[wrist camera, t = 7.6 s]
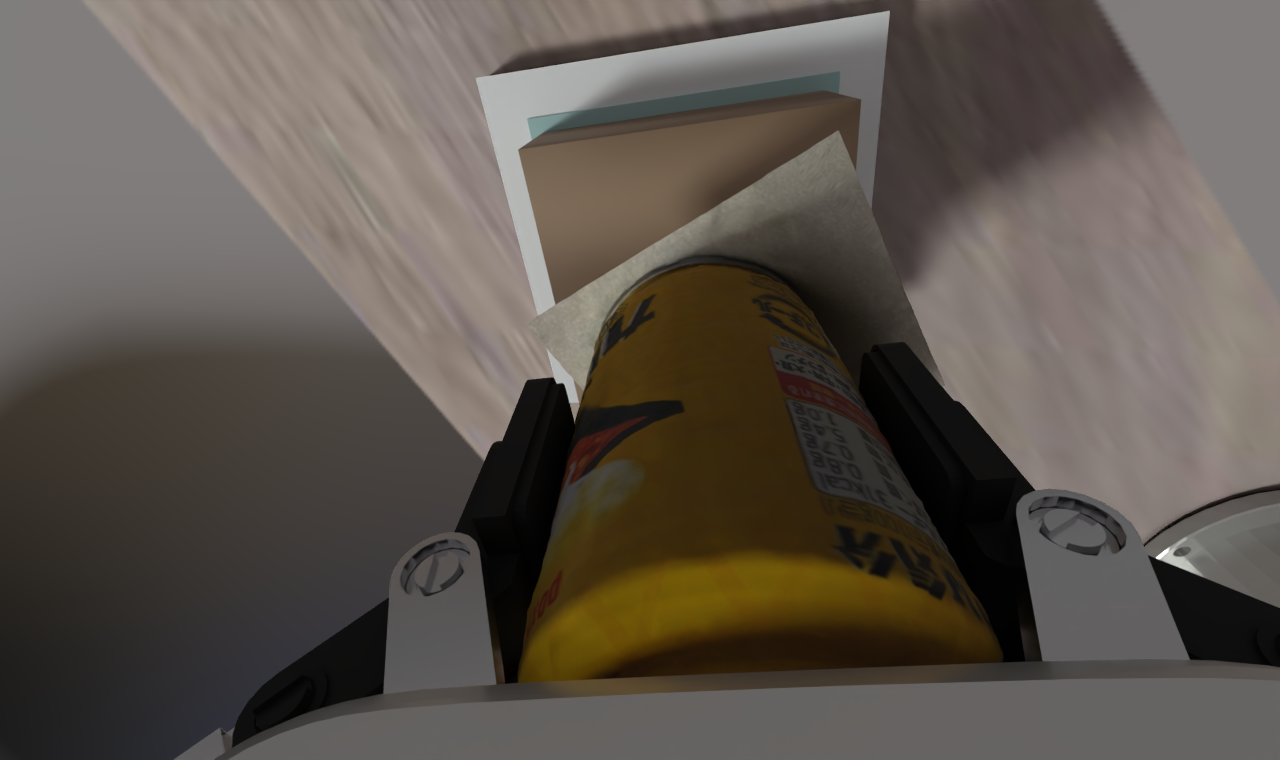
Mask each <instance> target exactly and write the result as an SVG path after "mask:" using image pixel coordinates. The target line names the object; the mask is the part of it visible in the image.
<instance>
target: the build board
mask: <svg viewBox="0 0 1280 760" xmlns="http://www.w3.org/2000/svg"><path fill="white" fill-rule="evenodd" d="M889 16H890V11H885V12H879V13H873V14H867V15H861V16H854V17H848V18H842V19H836V20H830V21H824V22H818V23H811V24H805V25H799V26H793V27H787V28H781V29H775V30H768V31H762V32H756V33H750V34H744V35H738V36H732V37H725V38H719V39H713V40H707V41H701V42H695V43H689V44H682V45H676V46H670V47H664V48H658V49H652V50H646V51H639V52H633V53H627V54H621V55H615V56H609V57H603V58H596V59H590V60H584V61H578V62H572V63H566V64H559V65H553V66H547V67H541V68H535V69H529V70H523V71H516V72H510V73H504V74H498V75H492V76H486V77H480V78H476V81H477V85H478V89H479V92H480V96H481V100H482V104H483V108H484V111H485V115H486V119H487V123H488V127H489V130H490V134H491V138H492V142H493V146H494V149H495V153H496V157H497V161H498V165H499V168H500V172H501V176H502V180H503V184H504V188H505V191H506V195H507V199H508V203H509V207H510V210H511V214H512V218H513V222H514V226H515V229H516V233H517V237H518V241H519V245H520V248H521V252H522V256H523V260H524V264H525V267H526V271H527V275H528V279H529V283H530V286H531V290H532V294H533V298H534V302H535V305H536V309H537V313H538V316H539V315H540V314H542V313H543V312H545V311H547V310H548V309H549V308H551V307H553V306H554V305H555V301H554V297H553V293H552V289H551V284H550V280H549V276H548V272H547V268H546V264H545V260H544V255H543V251H542V247H541V243H540V239H539V235H538V231H537V226H536V222H535V218H534V214H533V210H532V206H531V201H530V197H529V193H528V189H527V185H526V181H525V177H524V172H523V168H522V164H521V160H520V156H519V152H518V149H520V148H521V147H523V146H524V145H526V144H527V143H529V142H530V141H532V140H533V139H534V138H536V137H537V136H539V135H540V134H542V133H543V132H548V131H555V130H562V129H568V128H575V127H582V126H589V125H595V124H602V123H609V122H615V121H622V120H629V119H635V118H642V117H649V116H656V115H662V114H669V113H676V112H682V111H689V110H696V109H702V108H709V107H716V106H722V105H729V104H736V103H743V102H749V101H756V100H763V99H769V98H776V97H783V96H789V95H796V94H803V93H809V92H816V91H823V90H825V91H829V92H833V93H837V94H842V95H846V96H850V97H854V98H858V99H861V110H860V124H859V137H858V150H857V163H856V173H857V176H858V180H859V182H860V185H861V187H862V189H863V192H864V194H865V196H866V199H867V201H868V203H869V205H870V208H871V209H872V198H873V187H874V176H875V166H876V155H877V144H878V134H879V123H880V112H881V101H882V91H883V80H884V69H885V58H886V48H887V37H888V26H889ZM547 351H548V355H549V359H550V363H551V366H552V370H553V374H554V378H555V381H556V383H563V384H564V385H565V388H566V391H567V395H568V399H569V403H576V402H579V401H578V397H577V392H576V388H575V384H574V380H573V378H572V377H571V376H570V375H569V374H568V373H567V372H566V371H565V370H564V368H563V367H562V366H561V364H560V363H559V362H558V360H556V359H555V358H554V357H553V356H552V354H551V353H550V352H549V350H548V349H547Z"/></svg>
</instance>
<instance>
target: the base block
mask: <svg viewBox="0 0 1280 760" xmlns="http://www.w3.org/2000/svg"><path fill="white" fill-rule="evenodd" d="M860 110H861V99H858V98H854V97H850V96H846V95H842V94H837V93H833V92H829V91H825V90H823V91H816V92H809V93H803V94H796V95H789V96H783V97H776V98H769V99H763V100H756V101H749V102H743V103H736V104H729V105H722V106H716V107H709V108H702V109H696V110H689V111H682V112H676V113H669V114H662V115H656V116H649V117H642V118H635V119H629V120H622V121H615V122H609V123H602V124H595V125H589V126H582V127H575V128H568V129H562V130H555V131H548V132H543V133H542V134H540V135H539V136H537V137H536V138H534V139H533V140H532V141H530V142H529V143H527V144H526V145H524V146H523V147H521V148H520V149H518V152H519V156H520V160H521V164H522V168H523V172H524V177H525V181H526V185H527V189H528V193H529V197H530V201H531V206H532V210H533V214H534V218H535V222H536V226H537V231H538V235H539V239H540V243H541V247H542V251H543V255H544V260H545V264H546V268H547V272H548V276H549V280H550V284H551V289H552V293H553V297H554V301H555V305H556V304H557V303H559V302H561V301H562V300H564V299H566V298H568V297H569V296H571V295H573V294H574V293H576V292H577V291H578V290H580V289H582V288H583V287H585V286H586V285H588V284H590V283H591V282H593V281H595V280H596V279H598V278H600V277H601V276H603V275H604V274H606V273H607V272H609V271H611V270H612V269H614V268H616V267H617V266H619V265H621V264H622V263H624V262H625V261H627V260H629V259H630V258H632V257H633V256H635V255H637V254H638V253H640V252H641V251H643V250H645V249H646V248H648V247H649V246H651V245H653V244H654V243H656V242H658V241H659V240H661V239H663V238H664V237H666V236H668V235H669V234H671V233H673V232H675V231H676V230H678V229H680V228H681V227H683V226H685V225H687V224H688V223H690V222H691V221H693V220H694V219H696V218H698V217H699V216H701V215H703V214H705V213H707V212H708V211H710V210H711V209H713V208H715V207H716V206H718V205H719V204H720V203H722V202H724V201H725V200H727V199H729V198H731V197H732V196H734V195H736V194H737V193H739V192H740V191H742V190H743V189H745V188H747V187H749V186H751V185H752V184H754V183H755V182H757V181H758V180H760V179H761V178H763V177H764V176H766V175H767V174H769V173H770V172H772V171H773V170H775V169H776V168H778V167H780V166H781V165H783V164H785V163H787V162H788V161H790V160H792V159H794V158H795V157H797V156H799V155H800V154H802V153H803V152H805V151H807V150H808V149H810V148H811V147H813V146H814V145H815V144H817V143H819V142H820V141H822V140H824V139H825V138H827V137H828V136H830V135H832V134H833V133H835V132H836V131H839V132H840V135H841V137H842V139H843V142H844V144H845V147H846V149H847V151H848V154H849V156H850V159H851V161H852V164H853V166H854V168H855V171H856V163H857V150H858V137H859V124H860ZM573 380H574V379H573ZM574 384H575V388H576V392H577V397H578V401H579V405H580V403H581V398H582V395H583V392H584V391H583V390H582V389H581V387H580V386H579V385H578V384H577V383H576V382H575V380H574Z"/></svg>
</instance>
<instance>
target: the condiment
mask: <svg viewBox="0 0 1280 760" xmlns="http://www.w3.org/2000/svg"><path fill="white" fill-rule="evenodd" d="M526 325H527V326H528V327H529V328H530V329H531V330H532V331H533V332H534V334H535V335H536V336H537V337H538V339H539V340H540V341H541V342H542V343H543V344H544V346H545V347H546V348H547V349H548V350H549V352H550V353H551V354H552V356H553V357H554V358H555V359H556V360H558V362H559V363H560V364H561V366H562V367H563V368H564V370H565V371H566V372H567V373H568V374H569V375H570V376H571V377H572V378H573V379H574V380H575V382H576V383H577V384H578V385H579V386H580V387H581V389H582V390H583V391H584V392H583V395H582V398H581V403H580V407H579V410H578V413H577V417H576V420H575V432H574V434H573V439H572V442H571V444H570V446H569V449H568V452H567V457H566V461H565V469H564V478H563V480H562V483H561V488H560V494H559V498H558V502H557V507H556V510H555V515H554V519H553V522H552V526H551V534H550V537H549V540H548V543H547V550H546V553H545V556H544V560H543V565H542V570H541V573H540V576H539V580H538V582H537V585H536V588H535V590H534V593H533V596H532V601H531V604H530V606H529V609H528V611H527V622H526V629H525V635H524V643H523V652H522V656H521V659H520V662H519V668H518V683H529V682H550V681H571V680H592V679H614V678H635V677H656V676H678V675H701V674H724V673H748V672H771V671H796V670H820V669H844V668H869V667H896V666H924V665H951V664H978V663H1004V655H1003V652H1002V650H1001V647H1000V645H999V642H998V639H997V637H996V635H995V633H994V631H993V628H992V626H991V624H990V622H989V618H988V615H987V613H986V611H985V610H984V608H983V606H982V604H981V603H980V601H979V600H978V598H977V597H976V596H975V595H974V593H973V592H972V591H971V590H970V588H969V586H968V584H967V582H966V580H965V578H964V577H963V575H962V574H961V572H960V570H959V569H958V567H957V565H956V563H955V560H954V559H953V557H952V556H951V555H950V553H949V551H948V548H947V546H946V545H945V543H944V542H943V541H942V539H941V538H940V535H939V533H938V532H937V529H936V527H935V526H934V525H933V524H932V522H931V519H930V517H929V516H928V514H927V512H926V511H925V509H924V506H923V503H922V501H921V500H920V499H919V498H918V497H917V496H916V494H915V493H914V491H913V489H912V488H911V486H910V483H909V481H908V480H907V478H906V476H905V475H904V473H903V471H902V469H901V467H900V466H899V464H898V462H897V461H896V459H895V457H894V454H893V452H892V450H891V447H890V445H889V442H888V441H887V439H886V438H885V437H884V436H883V434H882V433H881V432H880V430H879V428H878V424H877V422H876V420H875V419H874V417H873V416H872V414H871V412H870V411H869V409H868V408H867V407H866V404H865V400H864V398H863V397H862V395H861V394H860V392H859V381H860V371H861V361H862V356H863V354H864V353H866V352H871V349H872V346H874V345H876V344H886V343H896V342H905V343H906V344H907V345H908V346H909V347H910V349H911V350H912V351H913V352H914V354H915V355H916V356H917V357H918V358H919V360H920V361H921V362H922V363H923V364H924V366H925V367H926V368H927V369H928V370H929V372H930V373H931V374H932V375H933V376H934V378H935V379H936V380H937V381H938V382H939V384H940V385H941V386H944V385H945V384H944V381H943V379H942V377H941V374H940V372H939V369H938V367H937V365H936V363H935V361H934V359H933V357H932V355H931V353H930V350H929V347H928V345H927V343H926V340H925V338H924V336H923V333H922V331H921V329H920V326H919V324H918V321H917V319H916V317H915V315H914V312H913V309H912V307H911V305H910V303H909V301H908V298H907V296H906V294H905V292H904V289H903V286H902V284H901V281H900V279H899V276H898V274H897V271H896V269H895V266H894V264H893V262H892V259H891V257H890V255H889V253H888V252H887V250H886V247H885V243H884V240H883V238H882V235H881V232H880V230H879V227H878V225H877V223H876V220H875V217H874V215H873V212H872V210H871V208H870V205H869V203H868V201H867V199H866V196H865V194H864V192H863V189H862V187H861V185H860V182H859V180H858V176H857V173H856V171H855V168H854V166H853V164H852V161H851V159H850V156H849V154H848V151H847V149H846V147H845V144H844V142H843V139H842V137H841V135H840V132H839V131H836V132H835V133H833V134H832V135H830V136H828V137H827V138H825V139H824V140H822V141H820V142H819V143H817V144H815V145H814V146H813V147H811V148H810V149H808V150H807V151H805V152H803V153H802V154H800V155H799V156H797V157H795V158H794V159H792V160H790V161H788V162H787V163H785V164H783V165H781V166H780V167H778V168H776V169H775V170H773V171H772V172H770V173H769V174H767V175H766V176H764V177H763V178H761V179H760V180H758V181H757V182H755V183H754V184H752V185H751V186H749V187H747V188H745V189H743V190H742V191H740V192H739V193H737V194H736V195H734V196H732V197H731V198H729V199H727V200H725V201H724V202H722V203H720V204H719V205H718V206H716V207H715V208H713V209H711V210H710V211H708V212H707V213H705V214H703V215H701V216H699V217H698V218H696V219H694V220H693V221H691V222H690V223H688V224H687V225H685V226H683V227H681V228H680V229H678V230H676V231H675V232H673V233H671V234H669V235H668V236H666V237H664V238H663V239H661V240H659V241H658V242H656V243H654V244H653V245H651V246H649V247H648V248H646V249H645V250H643V251H641V252H640V253H638V254H637V255H635V256H633V257H632V258H630V259H629V260H627V261H625V262H624V263H622V264H621V265H619V266H617V267H616V268H614V269H612V270H611V271H609V272H607V273H606V274H604V275H603V276H601V277H600V278H598V279H596V280H595V281H593V282H591V283H590V284H588V285H586V286H585V287H583V288H582V289H580V290H578V291H577V292H576V293H574V294H573V295H571V296H569V297H568V298H566V299H564V300H562V301H561V302H559V303H557V304H556V305H554V306H553V307H551V308H549V309H548V310H547V311H545V312H543V313H542V314H540V315H539V316H537V317H536V318H534V319H533V320H532V321H531V322H529V323H528V324H526Z"/></svg>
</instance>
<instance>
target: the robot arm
mask: <svg viewBox="0 0 1280 760" xmlns="http://www.w3.org/2000/svg"><path fill="white" fill-rule="evenodd" d="M859 392H860V394H861V395H862V397H863V398H864V400H865V404H866V407H867V408H868V409H869V411H870V412H871V414H872V416H873V417H874V419H875V420H876V422H877V424H878V428H879V430H880V432H881V433H882V434H883V436H884V437H885V438H886V439H887V441H888V442H889V445H890V447H891V450H892V452H893V454H894V457H895V459H896V461H897V462H898V464H899V466H900V467H901V469H902V471H903V473H904V475H905V476H906V478H907V480H908V481H909V483H910V486H911V488H912V489H913V491H914V493H915V494H916V496H917V497H918V498H919V499H920V500H921V501H922V503H923V506H924V509H925V511H926V512H927V514H928V516H929V517H930V519H931V522H932V524H933V525H934V526H935V527H936V529H937V532H938V533H939V535H940V538H941V539H942V541H943V542H944V543H945V545H946V546H947V548H948V551H949V553H950V555H951V556H952V557H953V559H954V560H955V563H956V565H957V567H958V569H959V570H960V572H961V574H962V575H963V577H964V578H965V580H966V582H967V584H968V586H969V588H970V590H971V591H972V592H973V593H974V595H975V596H976V597H977V598H978V600H979V601H980V603H981V604H982V606H983V608H984V610H985V611H986V613H987V615H988V618H989V622H990V624H991V626H992V628H993V631H994V633H995V635H996V637H997V639H998V642H999V645H1000V647H1001V650H1002V652H1003V655H1004V663H978V664H951V665H924V666H896V667H869V668H844V669H820V670H796V671H771V672H748V673H724V674H701V675H678V676H656V677H635V678H614V679H592V680H571V681H550V682H529V683H518V668H519V662H520V659H521V656H522V652H523V643H524V635H525V629H526V622H527V611H528V609H529V606H530V604H531V601H532V596H533V593H534V590H535V588H536V585H537V582H538V580H539V576H540V573H541V570H542V565H543V560H544V556H545V553H546V550H547V543H548V540H549V537H550V534H551V526H552V522H553V519H554V515H555V510H556V507H557V502H558V498H559V494H560V488H561V483H562V480H563V478H564V469H565V461H566V457H567V452H568V449H569V446H570V444H571V442H572V439H573V434H574V432H575V423H574V419H573V415H572V411H571V407H570V403H569V399H568V395H567V391H566V388H565V385H564V384H563V383H556V381H555V379H554V378H553V377H551V378H542V379H532V380H527V381H526V383H525V386H524V388H523V391H522V393H521V396H520V398H519V401H518V403H517V406H516V408H515V411H514V413H513V416H512V418H511V420H510V423H509V425H508V428H507V430H506V433H505V435H504V438H503V440H502V441H497V442H495V443H493V444H492V446H491V448H490V450H489V452H488V454H487V457H486V459H485V461H484V464H483V466H482V468H481V471H480V473H479V476H478V478H477V480H476V483H475V485H474V487H473V490H472V492H471V494H470V497H469V499H468V502H467V504H466V506H465V509H464V511H463V513H462V516H461V518H460V520H459V523H458V525H457V527H456V530H455V532H454V533H444V534H440V535H436V536H433V537H431V538H429V539H427V540H424V541H422V542H421V543H419V544H418V545H416V546H415V547H413V548H412V549H411V550H409V551H408V552H407V554H406V555H405V556H404V557H403V558H402V559H401V560H400V561H399V563H398V564H397V566H396V568H395V569H394V571H393V573H392V578H391V581H390V593H389V598H387V599H386V600H385V601H383V602H382V603H380V604H379V605H377V606H376V607H375V608H373V609H372V610H370V611H368V612H367V613H366V614H364V615H363V616H361V617H360V618H358V619H357V620H355V621H354V622H352V623H351V624H349V625H348V626H347V627H345V628H344V629H342V630H341V631H339V632H338V633H336V634H335V635H333V636H332V637H330V638H329V639H328V640H326V641H325V642H323V643H322V644H320V645H319V646H317V647H316V648H315V649H313V650H312V651H310V652H308V653H307V654H306V655H304V656H303V657H301V658H300V659H298V660H297V661H295V662H294V663H292V664H291V665H289V666H288V667H287V668H285V669H284V670H282V671H281V672H279V673H278V674H276V675H275V676H274V677H273V678H272V679H270V680H269V681H268V682H267V683H265V684H264V685H263V686H262V687H261V688H260V689H259V690H258V691H257V692H256V693H255V695H254V696H253V697H252V698H251V699H250V700H249V701H248V703H247V704H246V706H245V708H244V709H243V711H242V712H241V714H240V716H239V717H238V720H237V723H236V725H235V727H234V728H233V729H232V730H230V731H229V732H227V733H226V732H225V731H223V730H222V729H221V728H219V729H217V730H216V731H215V732H213V733H212V734H210V735H209V736H207V737H206V738H205V739H203V740H202V741H200V742H199V743H197V744H196V745H194V746H193V747H191V748H190V749H189V750H187V751H186V752H184V753H183V754H181V755H180V756H178V757H177V758H176V759H174V760H1280V490H1276V491H1270V492H1263V493H1257V494H1253V495H1249V496H1245V497H1241V498H1237V499H1233V500H1230V501H1227V502H1224V503H1221V504H1218V505H1216V506H1213V507H1210V508H1207V509H1205V510H1203V511H1201V512H1199V513H1196V514H1194V515H1192V516H1190V517H1188V518H1186V519H1184V520H1182V521H1180V522H1178V523H1177V524H1175V525H1173V526H1172V527H1170V528H1168V529H1167V530H1165V531H1163V532H1162V533H1161V534H1159V535H1158V536H1157V537H1156V538H1154V539H1153V540H1152V541H1150V542H1149V543H1148V544H1146V545H1145V546H1144V545H1143V543H1142V540H1141V538H1140V536H1139V534H1138V532H1137V531H1136V529H1135V528H1134V526H1133V525H1132V523H1131V522H1129V521H1128V520H1127V519H1126V518H1125V517H1124V516H1123V515H1122V514H1120V513H1119V512H1118V511H1116V510H1115V509H1113V508H1111V507H1110V506H1108V505H1106V504H1105V503H1103V502H1101V501H1098V500H1096V499H1093V498H1091V497H1089V496H1086V495H1083V494H1079V493H1075V492H1071V491H1067V490H1056V489H1044V490H1037V491H1036V490H1035V489H1034V488H1033V487H1032V486H1031V485H1030V483H1029V482H1028V481H1027V480H1026V479H1025V478H1024V476H1023V475H1022V474H1021V473H1020V472H1019V470H1018V469H1017V468H1016V467H1015V466H1014V465H1013V463H1012V462H1011V461H1010V460H1009V459H1008V457H1007V456H1006V455H1005V454H1004V453H1003V452H1002V450H1001V449H1000V448H999V447H998V446H997V444H996V443H995V442H994V441H993V440H992V439H991V437H990V436H989V435H988V434H987V433H986V431H985V430H984V429H983V428H982V427H981V426H980V424H979V423H978V422H977V421H976V420H975V418H974V417H973V416H972V415H971V414H970V413H969V411H968V410H967V409H966V408H965V407H964V406H963V405H962V404H961V403H960V402H958V401H954V400H953V399H952V398H951V397H950V396H949V394H948V393H947V392H946V391H945V390H944V388H943V387H942V386H941V385H940V384H939V382H938V381H937V380H936V379H935V378H934V376H933V375H932V374H931V373H930V372H929V370H928V369H927V368H926V367H925V366H924V364H923V363H922V362H921V361H920V360H919V358H918V357H917V356H916V355H915V354H914V352H913V351H912V350H911V349H910V347H909V346H908V345H907V344H906V343H905V342H896V343H886V344H876V345H874V346H872V349H871V352H866V353H864V354H863V356H862V361H861V371H860V381H859Z"/></svg>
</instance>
